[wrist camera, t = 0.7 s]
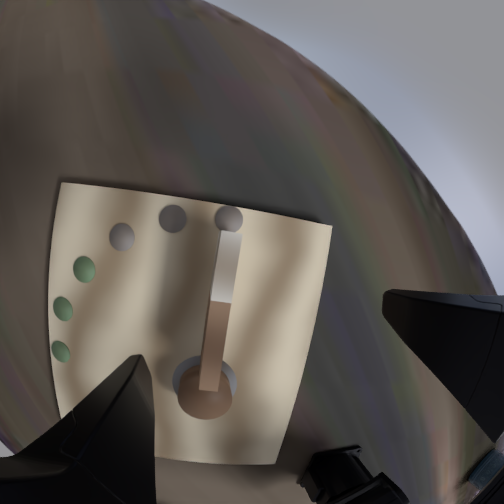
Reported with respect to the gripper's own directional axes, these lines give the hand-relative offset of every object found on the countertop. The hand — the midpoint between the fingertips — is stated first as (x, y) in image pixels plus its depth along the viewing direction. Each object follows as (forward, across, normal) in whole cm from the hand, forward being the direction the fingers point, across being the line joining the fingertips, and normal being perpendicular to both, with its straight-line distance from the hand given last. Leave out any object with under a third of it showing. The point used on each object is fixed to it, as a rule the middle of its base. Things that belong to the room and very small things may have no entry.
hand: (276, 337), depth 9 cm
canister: (-3, -59, +75) cm, 96 cm away
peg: (+10, +2, +5) cm, 12 cm away
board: (+12, +6, +7) cm, 15 cm away
